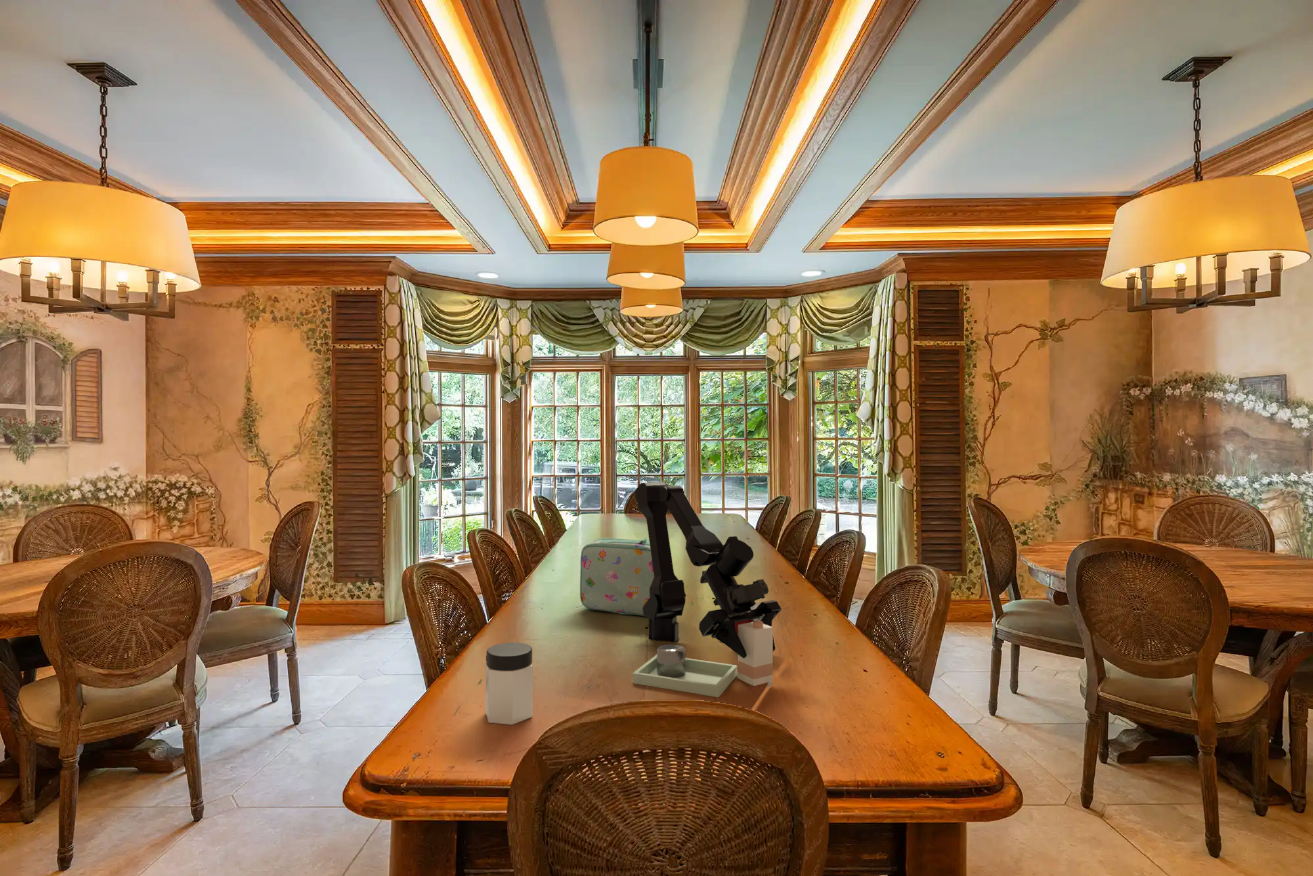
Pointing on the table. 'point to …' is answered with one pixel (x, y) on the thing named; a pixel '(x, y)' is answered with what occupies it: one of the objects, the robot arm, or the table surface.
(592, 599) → the lunch box
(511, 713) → the jar
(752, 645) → the oat carton
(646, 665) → the tray
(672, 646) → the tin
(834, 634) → the table surface
